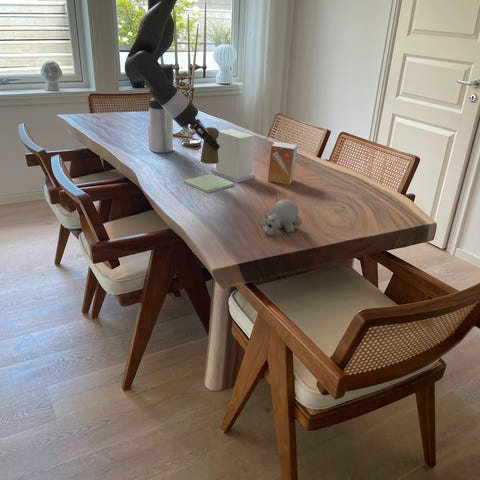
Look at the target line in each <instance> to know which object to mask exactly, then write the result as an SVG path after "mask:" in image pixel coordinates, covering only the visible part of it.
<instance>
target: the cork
mask: <svg viewBox="0 0 480 480" xmlns="http://www.w3.org/2000/svg"><path fill="white" fill-rule="evenodd" d="M205 128H206V129H207V130H208V133H209V135H210V136H212V138H213V139H214V140H215V141H216V142H217V138H218V136H219V131H220V130H219V129H217V128H216V127H209V126H207V127H205ZM208 137H209V136H208V135H207V136H206V137H205V139H207V138H208ZM202 142H203V143H202V150H201V153H200V154H201V155H200V162H201V163H203V164H208V165H216V163H218V162H219V160H218V150H217V151H215V150H214V149H213V148H212V147H211V146H210V145H209V144H207V143H206V142H205V141H204V140H203V141H202Z"/></svg>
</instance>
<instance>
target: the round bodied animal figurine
mask: <svg viewBox="0 0 480 480" xmlns="http://www.w3.org/2000/svg"><path fill="white" fill-rule="evenodd" d="M264 217H265V222H264V223H265V226H263V228H262V230H263V232H264V234H265V235H267V236H272V235H274V234H275V232H276V231H277V230H279V229H283V228H284V230H285V232H286V233H292V232H294V231H295V227H299V226H301V225H302V223H303V221H302V218H301V217H300V215H299V208H298V206H297V203H296V202H295V201H292V200H290V199H288V198H285V199H283V198H282V199H280V200H278V201H277V202H275V203H274V205H273V207H272V209H271V215H267V214H264Z"/></svg>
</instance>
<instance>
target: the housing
mask: <svg viewBox="0 0 480 480" xmlns="http://www.w3.org/2000/svg"><path fill="white" fill-rule="evenodd" d="M218 131H219V136H218V138H217V144H218V145H219V146H220V148H219V149H218V160H219V162H218V163H216V164H215V168H212V169H211V174H213V175H215V176H216V175H217V176H218V177H220V178H221V177H222V178H223V179H225V180H229V181H230V182H231V181H232V182H234V183H237V184H238V183H240V182H245V181H248V180H252V179H255V176H256V175H255V174H254V173H252V170H253V169H252V168H253V167H252V166H253V156H254V155H253V154H254V142H255V135H253V134H251V133H248V132H247V133H246V132H244V131H240V130H237V129H234V128H230V129H229V128H228V129H222V130H218Z"/></svg>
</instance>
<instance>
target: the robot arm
mask: <svg viewBox="0 0 480 480" xmlns="http://www.w3.org/2000/svg"><path fill="white" fill-rule="evenodd" d="M177 1H178V0H147V11H146V13H144V15H143V16H142V18H141V20H140V23H139V27H138V30H137V33H136V36H135V40H134V42H133V43H132V46H131V48H130V50H129V52H128V54H127V56H126V58H125V62H124V72H125V75H126V77H127V78H128V79H129V80H130V81H132V82H136V83H139V82H142V81H144V84H145V86H146V87H147V88H148V89H149V94H150V95H151V97H152V98H150V99H149V100H148V101H149V102H148V114H149V118H148V119H149V125H148V149H149V150H150V151H151V152H152V153H153V152H154V153H158V154H159V153H160V154H161V153H163V154H166V153H171V152H173V149H174V148H173V147H174V133H173V132H174V122H175V123H176V124H177V125H178V126H180V128H185V127H187V126H188V125H190V126H189V129H190V130H191V131H192V132H193V133H194V134H196V135H197V137H199V138H200V139H201V140H203V142H204V141H205V142H206V143H207V144H209V145H210V146H211V147H212V148H213V149H214V150H215V151H217V150H218V149H219V148H220V146H219V145H218V144H217V142H216V141H215V140H214V139H213V138H212V136H210V135H209V133H208V130H207V129H206V128H207V127H205V125H204V124H203V122H202V121H201V120H200V119H199V118H196V117H198V115H199V110H198V109H197V107H196V106H195V105H194V104H193V103H192V102H191V101H190V100H189V99H188V97H187V96H185V95H184V94H183V93H182V92H181V91H180V90H179V89H178V88H177V87H176V86H175V84H174V79H175V75H174V68H173V66H172V65H171V64H169V63H168V64H167V63H160V62H159V60H160V58H161V57H162V56H163V55H164V54H165V53H166V52H167V51H168V49H170V47H171V46H172V44H173V42H174V36H175V21H174V18H173V16H172V12H173V10H174V8H175V6H176V4H177ZM207 135H208V136H209V137H208V138H207V139H205V137H206V136H207Z"/></svg>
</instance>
